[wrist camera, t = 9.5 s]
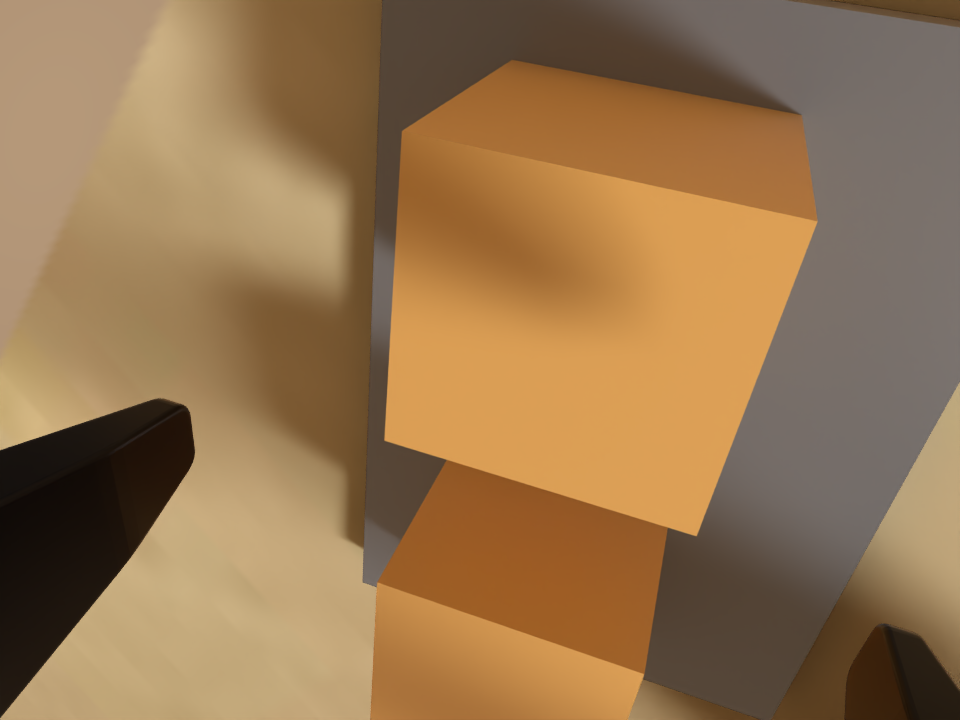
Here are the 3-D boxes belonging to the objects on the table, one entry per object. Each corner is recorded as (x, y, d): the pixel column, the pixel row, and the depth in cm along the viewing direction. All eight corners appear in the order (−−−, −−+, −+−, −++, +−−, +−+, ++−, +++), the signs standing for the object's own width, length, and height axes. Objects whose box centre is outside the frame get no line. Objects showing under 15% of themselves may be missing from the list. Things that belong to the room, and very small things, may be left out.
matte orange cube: (715, 365, 18) (696, 536, 13) (480, 304, 20) (384, 440, 15) (801, 115, 15) (817, 221, 10) (511, 59, 16) (401, 131, 11)
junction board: (1115, 44, 14) (1365, 153, 8) (769, 689, 25) (769, 934, 19) (406, -66, 17) (212, -44, 11) (376, 558, 28) (272, 735, 22)
